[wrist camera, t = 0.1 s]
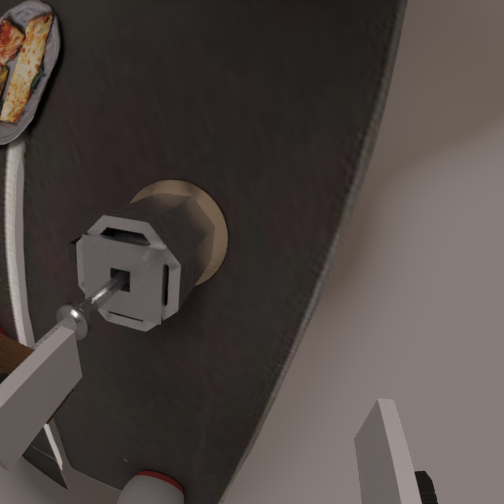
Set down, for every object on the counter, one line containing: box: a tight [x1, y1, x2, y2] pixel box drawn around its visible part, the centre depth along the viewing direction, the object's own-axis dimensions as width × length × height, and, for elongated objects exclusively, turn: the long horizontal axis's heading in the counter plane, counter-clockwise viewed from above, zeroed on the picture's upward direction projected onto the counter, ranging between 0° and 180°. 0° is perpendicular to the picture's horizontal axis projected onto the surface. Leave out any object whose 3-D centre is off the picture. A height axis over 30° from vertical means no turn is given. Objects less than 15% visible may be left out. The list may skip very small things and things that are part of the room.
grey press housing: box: [68, 179, 229, 332], centre depth 33 cm, size 14×15×15 cm
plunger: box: [0, 231, 169, 424], centre depth 21 cm, size 7×7×19 cm
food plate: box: [0, 0, 61, 145], centre depth 33 cm, size 25×23×4 cm
